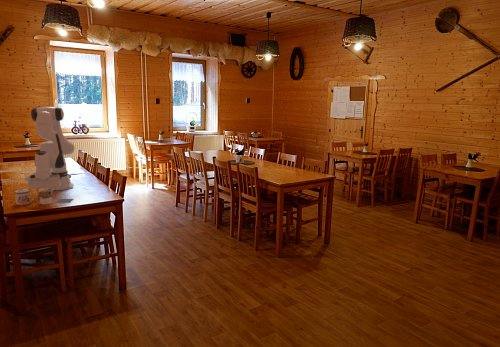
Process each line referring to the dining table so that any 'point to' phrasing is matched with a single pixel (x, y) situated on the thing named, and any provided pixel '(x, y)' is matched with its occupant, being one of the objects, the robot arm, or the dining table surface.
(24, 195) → the teacup with lid
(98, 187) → the dining table surface
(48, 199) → the bowl
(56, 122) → the robot arm
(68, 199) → the mat
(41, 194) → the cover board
